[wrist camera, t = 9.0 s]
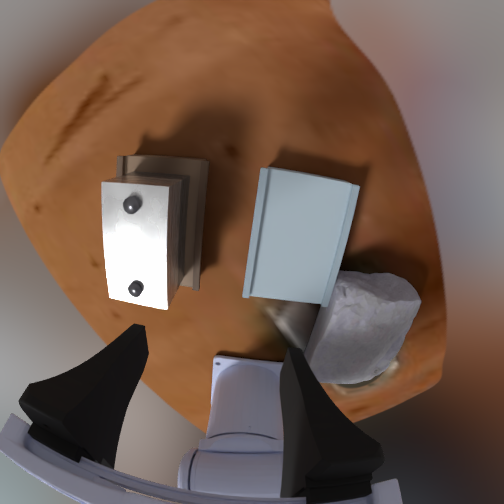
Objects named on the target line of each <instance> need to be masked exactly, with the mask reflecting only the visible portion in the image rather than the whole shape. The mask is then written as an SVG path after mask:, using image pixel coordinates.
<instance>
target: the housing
mask: <svg viewBox="0 0 504 504" xmlns="http://www.w3.org/2000/svg"><path fill="white" fill-rule="evenodd" d="M189 183H190V176H188V175H177V174H165V173H152V172H136V171H134V172H130V173H127V174H124V175H121V176H118V177H115V178H112V179H109V180H106V181H103V182H102V224H103V241H104V253H105V264H106V273H107V281H108V288H109V295H110V298H114V299H118V300H123V301H127V302H132V303H136V304H141V305H146V306H151V307H156V308H161V309H166V310H167V309H168V307H169V306H170V304H171V302H172V300H173V298H174V296H175V294H176V292H177V290H178V288H179V286H180V284H181V282H182V280H183V278H184V267H185V242H186V223H187V208H188V195H189Z"/></svg>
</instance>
